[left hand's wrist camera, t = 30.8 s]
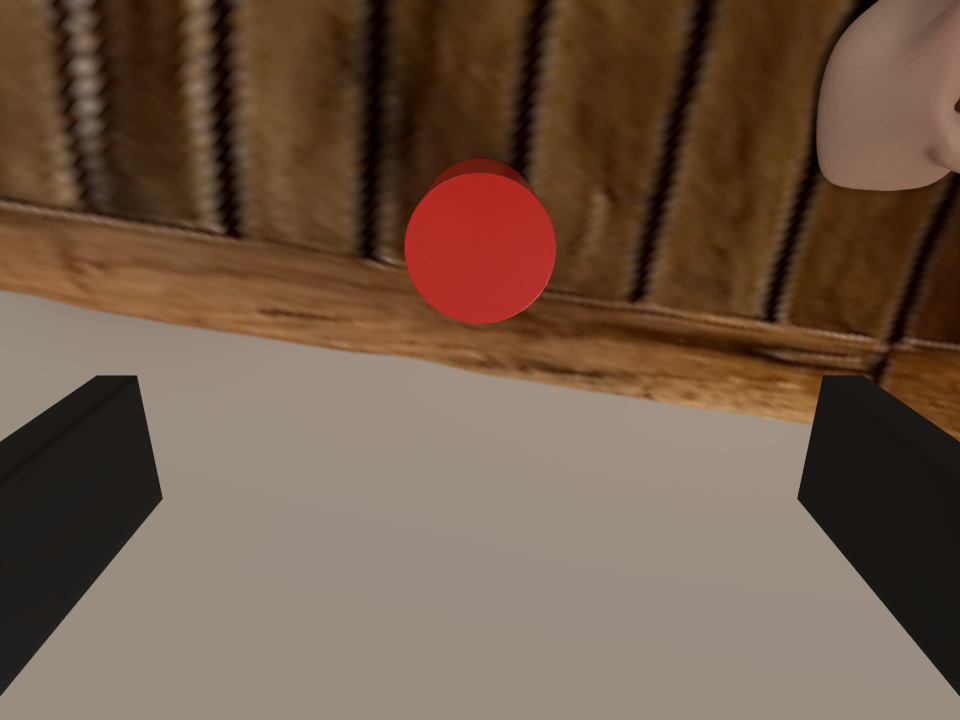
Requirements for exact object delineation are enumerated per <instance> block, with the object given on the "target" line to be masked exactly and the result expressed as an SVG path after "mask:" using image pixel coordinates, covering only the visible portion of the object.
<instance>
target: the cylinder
mask: <svg viewBox="0 0 960 720" xmlns="http://www.w3.org/2000/svg"><path fill="white" fill-rule="evenodd" d="M404 249H405V260H406V265H407V269H408V272H409V275H410V277H411V279H412V282H413V284H414V285H415V287H416V289H417V290H418V292H419V293H420V294H421V295H422V297H423V298H424V299H425V300H426V301H427V302H428V303H429V304H430V305H431V306H432V307H434V308H435V309H437V310H438V311H439V312H441V313H443V314H445V315H447V316H449V317H451V318H454V319H456V320H460V321H464V322H470V323H491V322H497V321H500V320H504V319H507V318H509V317H512V316H514V315H516V314H517V313H519V312H521V311H522V310H524V309H525V308H527V307H528V306H529V305H530V304H531V303H532V302H533V301H534V300H536V298H537V297H538V296H539V295H540V294H541V292H542V291H543V289H544V288H545V286H546V284H547V283H548V280H549V278H550V276H551V274H552V270H553V267H554V263H555V257H556V240H555V233H554V229H553V225H552V222H551V220H550V217H549V215H548V213H547V211H546V210H545V208H544V206H543V205H542V203H541V202H540V200H539V199H538V197H537V196H536V195H535V193H534V192H533V190H532V189H531V187H530V186H529V184H528V183H527V182H526V180H525V179H524V178H523V177H522V176H521V175H520V174H519V173H518V172H517V171H516V170H514V169H513V168H511V167H510V166H508V165H506V164H504V163H502V162H499V161H496V160H492V159H485V158H475V159H468V160H464V161H461V162H459V163H456V164H454V165H452V166H451V167H449V168H447V169H446V170H445V171H443V172H442V173H441V174H440V175H439V176H438V177H437V178H436V179H435V181H434V182H433V183H432V185H431V186H430V188H429V189H428V191H427V192H426V194H425V195H424V197H423V198H422V200H421V201H420V203H419V204H418V206H417V207H416V209H415V210H414V212H413V214H412V216H411V218H410V221H409V224H408V227H407V231H406V235H405V245H404Z"/></svg>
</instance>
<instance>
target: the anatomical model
mask: <svg viewBox="0 0 960 720" xmlns="http://www.w3.org/2000/svg"><path fill="white" fill-rule="evenodd" d="M816 144H817V157H818V163H819V166H820V169H821V172H822V174H823V175H824V177H825V178H826V179H827V180H828V181H829V182H831V183H833V184H835V185H838V186H841V187H847V188H852V189H864V190H878V191H892V190H903V189H913V188H919V187H923V186H927V185H929V184H932V183H934V182H936V181H937V180H939V179H940V178H942V177H943V176H945V175H946V174H947V173H948V172H950V171H954V172H957V173H960V0H879V1H877V2H876V3H875V4H874V5H872V6H871V7H870V8H869V9H867V10H866V11H865V12H864V13H863V14H861V15H860V16H859V17H858V18H857V19H856V20H855V21H854V22H853V23H852V24H851V25H850V26H849V27H848V28H847V30H846V31H845V32H844V33H843V35H842V36H841V38H840V39H839V41H838V42H837V44H836V46H835V48H834V50H833V52H832V54H831V56H830V58H829V61H828V64H827V66H826V69H825V73H824V77H823V80H822V84H821V89H820V95H819V102H818V112H817V131H816Z"/></svg>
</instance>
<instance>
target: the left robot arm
mask: <svg viewBox="0 0 960 720" xmlns="http://www.w3.org/2000/svg"><path fill="white" fill-rule="evenodd" d="M162 499H163V498H162V493H161V488H160V484H159V479H158V474H157V469H156V464H155V460H154V455H153V450H152V445H151V440H150V436H149V431H148V426H147V421H146V417H145V412H144V407H143V402H142V398H141V393H140V388H139V383H138V378H137V376H95V377H94V378H93V379H91V380H90V381H88V382H87V383H85V384H84V385H82V386H81V387H79V388H78V389H76V390H75V391H74V392H72V393H71V394H69V395H68V396H66V397H65V398H63V399H62V400H60V401H59V402H58V403H56V404H55V405H53V406H52V407H50V408H49V409H47V410H46V411H44V412H43V413H42V414H40V415H39V416H37V417H36V418H34V419H33V420H31V421H30V422H28V423H27V424H25V425H24V426H23V427H21V428H20V429H18V430H17V431H15V432H14V433H12V434H11V435H9V436H8V437H6V438H5V439H4V440H2V441H1V442H0V696H1V695H2V694H3V692H4V691H5V690H6V689H7V687H8V686H9V685H10V684H11V683H12V681H13V680H14V679H15V678H16V676H17V675H18V674H19V673H20V672H21V670H22V669H23V668H24V667H25V665H26V664H27V663H28V662H29V661H30V659H31V658H32V657H33V656H34V655H35V653H36V652H37V651H38V650H39V648H40V647H41V646H42V645H43V644H44V642H45V641H46V640H47V639H48V638H49V636H50V635H51V634H52V633H53V631H54V630H55V629H56V628H57V627H58V625H59V624H60V623H61V622H62V620H63V619H64V618H65V617H66V616H67V614H68V613H69V612H70V611H71V610H72V608H73V607H74V606H75V605H76V604H77V602H78V601H79V600H80V599H81V597H82V596H83V595H84V594H85V593H86V591H87V590H88V589H89V588H90V586H91V585H92V584H93V583H94V582H95V580H96V579H97V578H98V577H99V576H100V574H101V573H102V572H103V571H104V569H105V568H106V567H107V566H108V565H109V563H110V562H111V561H112V560H113V559H114V557H115V556H116V555H117V554H118V552H119V551H120V550H121V549H122V548H123V546H124V545H125V544H126V543H127V541H128V540H129V539H130V538H131V537H132V535H133V534H134V533H135V532H136V531H137V529H138V528H139V527H140V526H141V524H142V523H143V522H144V521H145V520H146V518H147V517H148V516H149V515H150V513H151V512H152V511H153V510H154V509H155V507H156V506H157V505H158V504H159V503H160V501H161V500H162ZM797 499H798V500H799V501H800V503H801V504H802V505H803V506H804V507H805V509H806V510H807V511H808V512H809V513H810V515H811V516H812V517H813V518H814V520H815V521H816V522H817V523H818V524H819V526H820V527H821V528H822V529H823V530H824V532H825V533H826V534H827V535H828V537H829V538H830V539H831V540H832V541H833V543H834V544H835V545H836V546H837V548H838V549H839V550H840V551H841V552H842V554H843V555H844V556H845V557H846V559H847V560H848V561H849V562H850V563H851V565H852V566H853V567H854V568H855V569H856V571H857V572H858V573H859V574H860V575H861V577H862V578H863V579H864V580H865V582H866V583H867V584H868V585H869V586H870V588H871V589H872V590H873V591H874V593H875V594H876V595H877V596H878V597H879V599H880V600H881V601H882V602H883V604H884V605H885V606H886V607H887V608H888V610H889V611H890V612H891V613H892V614H893V616H894V617H895V618H896V619H897V621H898V622H899V623H900V624H901V625H902V627H903V628H904V629H905V630H906V631H907V633H908V634H909V635H910V636H911V637H912V639H913V640H914V641H915V642H916V644H917V645H918V646H919V647H920V649H921V650H922V651H923V652H924V653H925V655H926V656H927V657H928V658H929V659H930V661H931V662H932V663H933V664H934V666H935V667H936V668H937V669H938V670H939V672H940V673H941V674H942V675H943V676H944V678H945V679H946V680H947V681H948V683H949V684H950V685H951V686H952V687H953V689H954V690H955V691H956V692H957V693H958V695H959V696H960V442H959V441H958V440H956V439H955V438H954V437H952V436H951V435H949V434H948V433H946V432H945V431H943V430H942V429H940V428H939V427H938V426H936V425H935V424H933V423H932V422H930V421H929V420H927V419H926V418H924V417H923V416H921V415H920V414H919V413H917V412H916V411H914V410H913V409H911V408H910V407H908V406H907V405H905V404H904V403H903V402H901V401H900V400H898V399H897V398H895V397H894V396H892V395H891V394H889V393H888V392H886V391H885V390H884V389H882V388H881V387H879V386H878V385H876V384H875V383H873V382H872V381H870V380H869V379H868V378H866V377H865V376H823V378H822V383H821V388H820V393H819V398H818V402H817V407H816V412H815V417H814V421H813V426H812V431H811V436H810V441H809V445H808V450H807V455H806V460H805V464H804V469H803V474H802V479H801V483H800V488H799V493H798V498H797Z"/></svg>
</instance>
